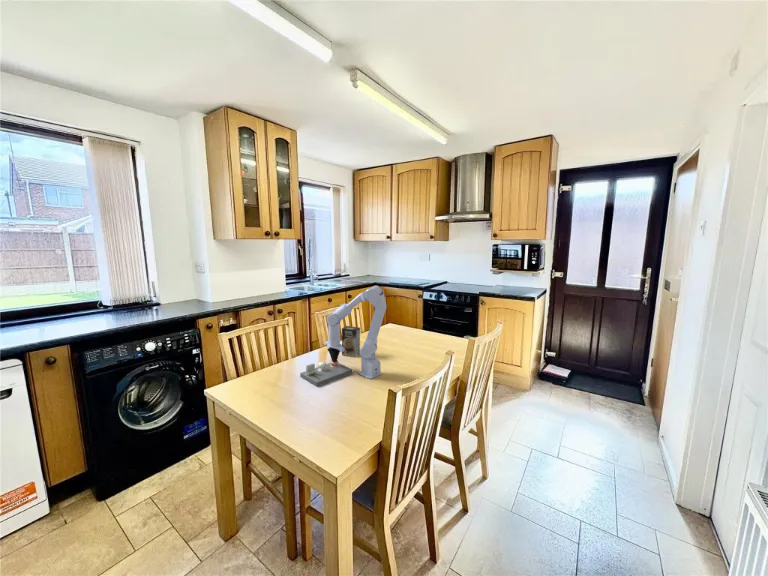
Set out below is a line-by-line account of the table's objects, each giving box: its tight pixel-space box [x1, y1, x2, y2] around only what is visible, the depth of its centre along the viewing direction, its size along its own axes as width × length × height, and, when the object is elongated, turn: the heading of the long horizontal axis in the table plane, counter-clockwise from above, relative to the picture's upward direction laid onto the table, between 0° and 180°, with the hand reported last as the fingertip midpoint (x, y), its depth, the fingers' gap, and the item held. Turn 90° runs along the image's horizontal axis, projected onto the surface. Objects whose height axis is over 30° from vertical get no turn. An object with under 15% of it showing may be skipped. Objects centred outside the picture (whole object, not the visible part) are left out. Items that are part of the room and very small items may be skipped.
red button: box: [330, 360, 339, 367], centre depth 160 cm, size 4×4×2 cm
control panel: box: [299, 362, 353, 388], centre depth 153 cm, size 14×21×2 cm, turn 135°
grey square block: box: [304, 362, 316, 376], centre depth 149 cm, size 3×4×4 cm
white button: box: [318, 361, 327, 369], centre depth 154 cm, size 4×4×2 cm
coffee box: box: [341, 325, 361, 358], centre depth 179 cm, size 9×6×16 cm
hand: (334, 361), depth 159 cm, fingers closed, pressing on red button
